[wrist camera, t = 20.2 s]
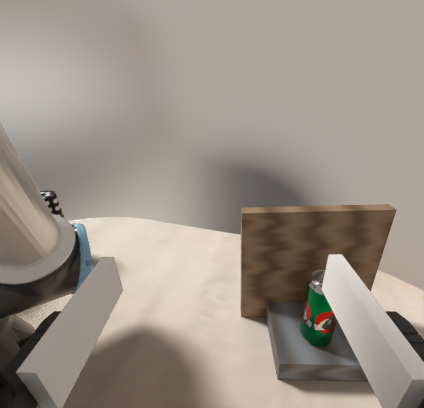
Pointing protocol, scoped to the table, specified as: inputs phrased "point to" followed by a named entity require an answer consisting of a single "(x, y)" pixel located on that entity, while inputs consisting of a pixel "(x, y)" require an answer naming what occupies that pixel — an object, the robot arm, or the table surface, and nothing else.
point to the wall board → (306, 277)
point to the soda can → (317, 312)
